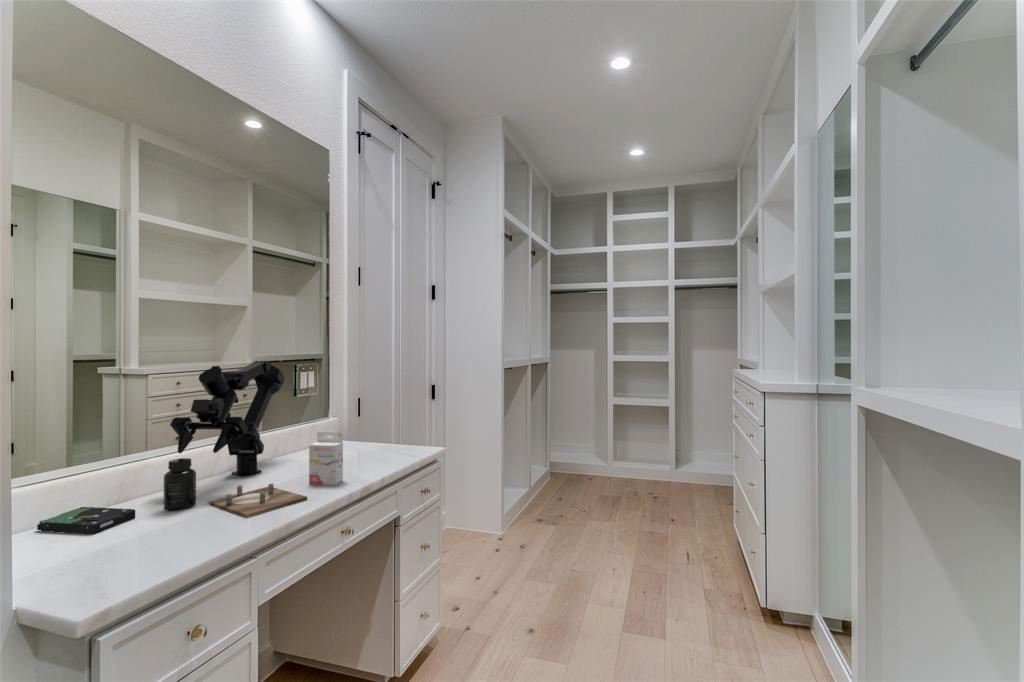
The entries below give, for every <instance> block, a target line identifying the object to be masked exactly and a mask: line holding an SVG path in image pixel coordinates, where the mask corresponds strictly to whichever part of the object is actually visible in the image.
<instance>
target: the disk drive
mask: <svg viewBox="0 0 1024 682" xmlns="http://www.w3.org/2000/svg"><path fill="white" fill-rule="evenodd" d="M135 519H136V509H133V508H116V507H115V508H113V507H110V508H109V507H92V506H89V507H88V506H81V507H79V508H75V509H72V510H69V511H67V512H63V513H60V514H59V515H55V516H54V517H53V516H52V517H50V518H47V519H44V520H40V521H39V523H38V524H37V526H36V527H37V528H36V529H37V530H41V531H53V532H52V533H57V532H64V533H63V534H80V535H96V534H99V533H101V532H104V531H107V530H109V529H112V528H115V527H117V526H120V525H122V524H125V523H127V522H130V521H132V520H135ZM37 530H36V531H37Z"/></svg>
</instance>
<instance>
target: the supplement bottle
mask: <svg viewBox="0 0 1024 682" xmlns="http://www.w3.org/2000/svg"><path fill="white" fill-rule="evenodd" d="M191 467H192V458H188V457H187V458H185V457H184V458H182V457H181V458H175V459H172V460H169V461H168V467H167V469H168V471H167V472H166V473H165V474H164V476H163V509H164V510H165V511H166V512H180V511H185V510H188V509H191V508H193V507H195V506H196V504H197V472H196V470H195V469H193V468H191Z"/></svg>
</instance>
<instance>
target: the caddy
mask: <svg viewBox="0 0 1024 682" xmlns="http://www.w3.org/2000/svg"><path fill="white" fill-rule="evenodd" d="M274 485H275V484H274V483H269V484H268V486H265V487H261V488H257V489H253V490H249V491H246V492H243V485H237V486H236V494H234V495H233V494H232V493H229V494H226V495H225V497H222V498H218V499H215V500H210V501H208V505H209V506H212V507H214V508H218V509H220V510H223V511H226V512H228V513H231V514H234V515H237V516H240V517H243V518H246V519H247V518H251V517H255V516H257V515H260V514H261V515H262V514H264V513H267V512H271V511H274V510H278V509H280V508H281V509H282V508H284V507H287V506H291V505H294V504H298V503H300V502H304V501H308V496H306V495H303V494H298V493H295V492H291V491H288V490H284V489H281V488H277V487H275V486H274Z"/></svg>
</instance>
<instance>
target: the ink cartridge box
mask: <svg viewBox="0 0 1024 682" xmlns="http://www.w3.org/2000/svg"><path fill="white" fill-rule="evenodd" d="M327 436H332V437H327ZM308 446H309V447H308V449H309V452H308V453H309V460H308V484H309V485H330V486H331V485H332V486H336V485H338V484H340V483H341V482H343V480H344V456H343V455H344V442H343V433H342V432H339V431H337V432H336V431H316V441H315V442H313V443H310V444H309V445H308Z"/></svg>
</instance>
